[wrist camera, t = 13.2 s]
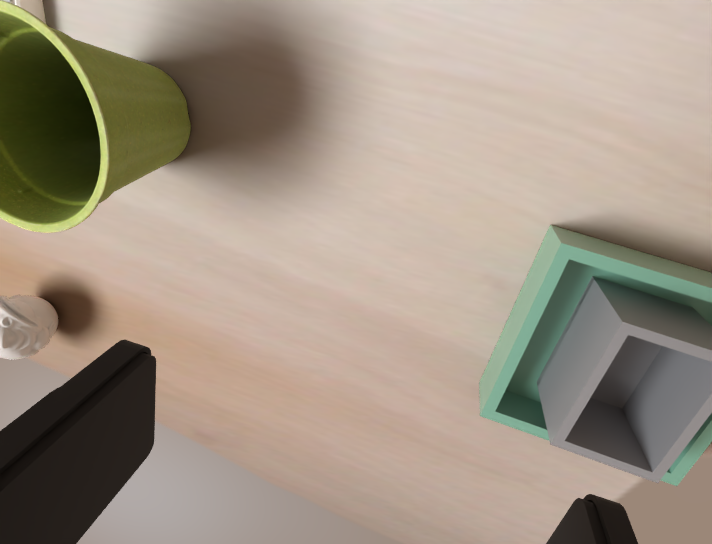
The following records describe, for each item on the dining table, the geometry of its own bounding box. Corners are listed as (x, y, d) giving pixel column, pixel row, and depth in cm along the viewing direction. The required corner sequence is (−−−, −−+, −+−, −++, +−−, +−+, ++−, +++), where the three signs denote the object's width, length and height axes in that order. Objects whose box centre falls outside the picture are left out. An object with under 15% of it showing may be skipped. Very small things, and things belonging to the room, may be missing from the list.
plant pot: (83, 6, 32) (-99, -36, 22) (233, 58, 31) (115, 40, 20) (78, 165, 37) (-72, 192, 27) (207, 215, 36) (101, 263, 25)
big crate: (550, 224, 30) (561, 243, 26) (765, 288, 28) (808, 317, 24) (479, 383, 35) (480, 416, 32) (654, 443, 34) (676, 486, 30)
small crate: (592, 276, 29) (622, 321, 23) (692, 307, 28) (750, 362, 23) (536, 382, 33) (550, 444, 27) (624, 412, 32) (657, 483, 26)
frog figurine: (86, 304, 42) (18, 341, 36) (64, 349, 45) (-2, 391, 39) (34, 264, 42) (-43, 294, 36) (15, 312, 45) (-59, 348, 39)
